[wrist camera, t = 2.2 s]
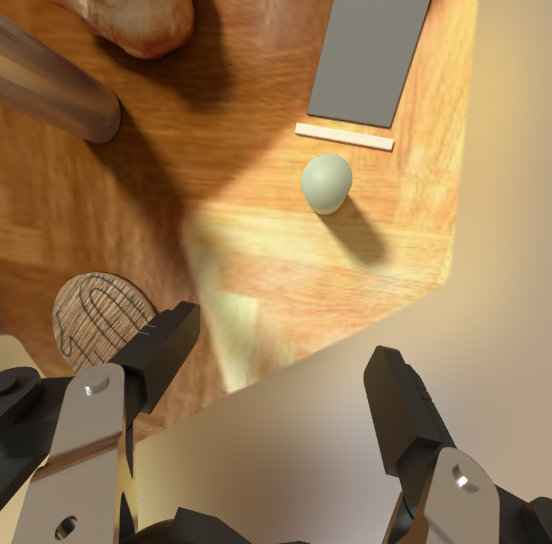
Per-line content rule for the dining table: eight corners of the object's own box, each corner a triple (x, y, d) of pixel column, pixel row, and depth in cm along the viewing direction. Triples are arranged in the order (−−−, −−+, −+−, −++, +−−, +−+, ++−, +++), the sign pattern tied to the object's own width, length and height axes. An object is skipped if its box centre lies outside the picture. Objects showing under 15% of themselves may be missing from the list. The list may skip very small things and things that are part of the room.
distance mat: (295, 133, 31) (294, 132, 31) (328, -10, 28) (328, -14, 27) (390, 150, 29) (391, 149, 29) (439, -2, 26) (441, -6, 25)
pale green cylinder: (304, 210, 33) (295, 200, 23) (313, 175, 32) (308, 149, 22) (337, 218, 32) (343, 211, 22) (348, 182, 31) (359, 158, 21)
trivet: (124, 410, 48) (116, 417, 46) (45, 327, 48) (34, 331, 47) (190, 338, 41) (184, 343, 39) (98, 244, 42) (87, 244, 40)
